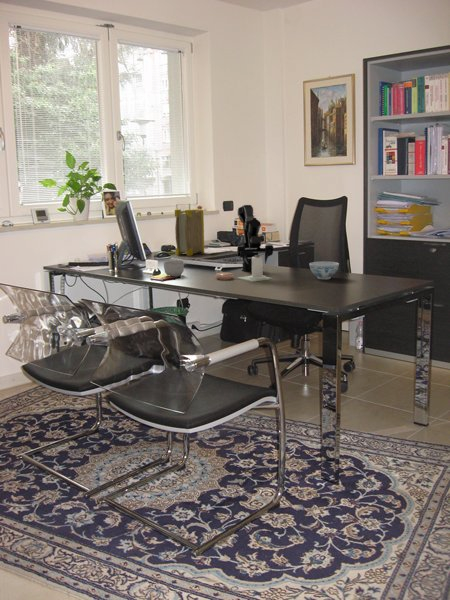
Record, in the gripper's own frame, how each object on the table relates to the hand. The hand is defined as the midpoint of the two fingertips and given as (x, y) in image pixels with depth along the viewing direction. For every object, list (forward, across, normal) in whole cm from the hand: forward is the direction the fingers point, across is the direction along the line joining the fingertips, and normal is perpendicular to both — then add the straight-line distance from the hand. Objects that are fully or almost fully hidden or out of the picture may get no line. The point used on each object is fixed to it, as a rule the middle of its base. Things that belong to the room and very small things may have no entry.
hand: (256, 263), depth 356 cm
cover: (+6, 0, +5) cm, 7 cm away
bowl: (+2, -16, +9) cm, 19 cm away
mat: (+6, -1, +6) cm, 8 cm away
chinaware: (+10, +34, +2) cm, 35 cm away
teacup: (-9, -42, +21) cm, 48 cm away
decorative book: (-71, -28, +85) cm, 114 cm away
